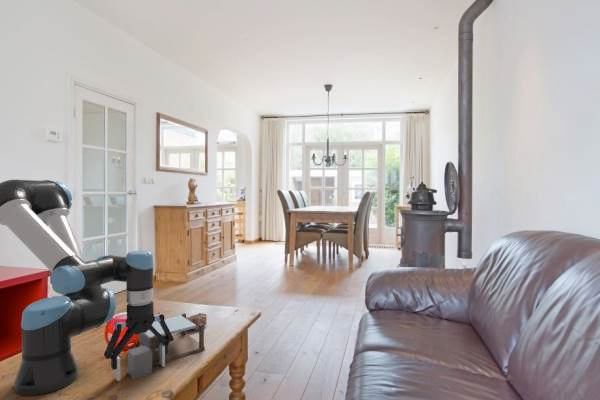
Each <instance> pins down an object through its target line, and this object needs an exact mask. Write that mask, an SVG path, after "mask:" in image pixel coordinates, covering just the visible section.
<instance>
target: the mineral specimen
mask: <svg viewBox="0 0 600 400" xmlns="http://www.w3.org/2000/svg"><path fill="white" fill-rule="evenodd" d="M186 319H187V320H189V321H191V322H192V323H194V324H195V325H196V328H193V329H192V330H195V331H199V325H200V324H204V326H205V325H207V319H208V318H207V314H206V313H201V312H200V313H196V314H194V315H191V316H186Z"/></svg>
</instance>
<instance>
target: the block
mask: <svg viewBox="0 0 600 400" xmlns="http://www.w3.org/2000/svg"><path fill="white" fill-rule="evenodd" d="M127 374H128V375H129V376H130V377H131V379H132V380H137V379H139V378H140V379H141V378H142V377H145V376H149V375H151V374H153V366H152V350H151V349H150V348H149V347H148V346H147V345H145V346H141V347H137V348H134V347H133V348H130V349H127Z"/></svg>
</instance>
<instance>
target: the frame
mask: <svg viewBox="0 0 600 400" xmlns="http://www.w3.org/2000/svg"><path fill="white" fill-rule="evenodd" d="M181 316H183V317H184V318H187V313H186V312H183V313H181ZM161 335H162V336H163V337H164V338H167V336H166V335H165V333H164V334H161ZM173 338H174V340H173V341H170V342H169V345H168V353H167V354H165V363H166V362H169V361H173V360H176V359H179V358H182V357H186V356H189V355H192V354H193V355H194V354H196V353H199V352H203V351H205V349H206V348H205V347H206V346H205V345H204V344H205V325H204V324H200V325H199V330H198V340H196V339H194V338H193V337H192V336H190V335H189V334H187V330H185V331H181V334H179V335H175V336H173ZM140 343H141V342H140V341H139V342H138V343H137V344H136V346H135V345H134V346H133V348H137V347H141V346H144V345H143V344H140ZM160 343H162V342H161V341H160V340H159V344H160ZM149 348H150V349H151V350H152V367H153V366H156V365H160V364H159V348H157V349H155V337H154V336H152V337H149Z"/></svg>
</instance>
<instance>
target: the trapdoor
mask: <svg viewBox="0 0 600 400" xmlns="http://www.w3.org/2000/svg"><path fill="white" fill-rule="evenodd" d="M186 318H187V317H186ZM186 318H184V317H183V316H182V315H178V316H173V317H169V318H164V320H165V323H166V325H167V327H168V328H169V330H170V332H171V334H172V335H173V334H176V333H182V331H185V330H186V331H188V330H194V329H193V328H196V325H195V324H194V323H192V322H191V321H189V320H187V319H186ZM152 326H153V327H154V328H155V329H156V330H157V331H158V332H159V333H160V334H164V331H163V329H162V327H161V325H160V323H159V322H158V321H155V322H153V324H152ZM152 336H154V337H155V349H157V348H159V339H158V338H157V337H156V336H155V335H154V334H153V333H152V332H151V331H150V330H148V331H147V332H145V333H140V334H138V340H139V341H140V343H141V345H144V346H145V345H147V346H148V347H149V337H152Z"/></svg>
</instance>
